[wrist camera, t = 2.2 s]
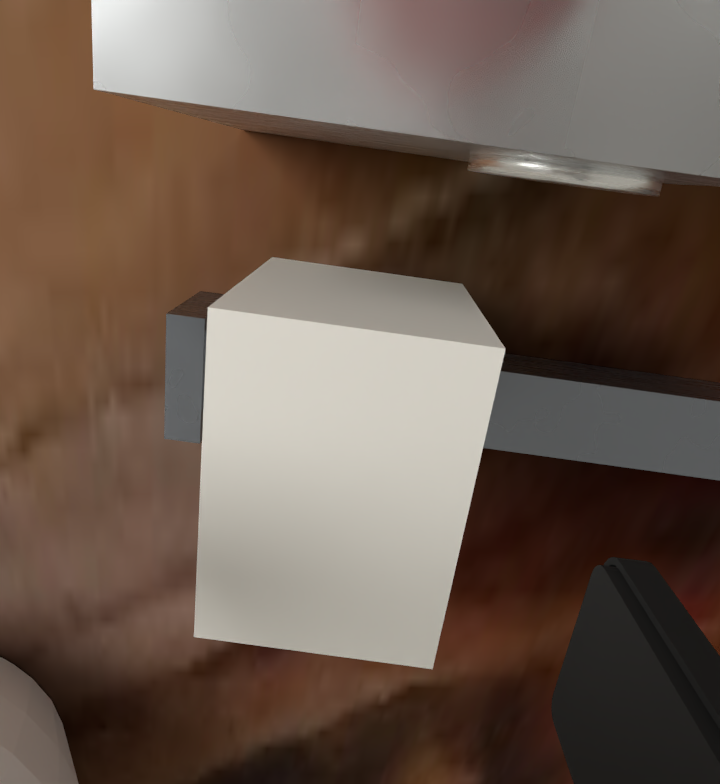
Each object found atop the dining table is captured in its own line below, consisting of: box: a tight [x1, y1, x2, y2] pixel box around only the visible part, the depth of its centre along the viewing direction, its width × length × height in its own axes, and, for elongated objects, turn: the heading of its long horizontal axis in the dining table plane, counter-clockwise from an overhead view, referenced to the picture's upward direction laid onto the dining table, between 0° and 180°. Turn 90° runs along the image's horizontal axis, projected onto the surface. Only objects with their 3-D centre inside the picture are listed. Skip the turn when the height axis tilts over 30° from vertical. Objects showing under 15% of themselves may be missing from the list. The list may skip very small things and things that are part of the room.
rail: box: [164, 291, 720, 480], centre depth 18 cm, size 20×4×3 cm, turn 82°
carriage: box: [194, 257, 505, 669], centre depth 15 cm, size 5×7×8 cm
